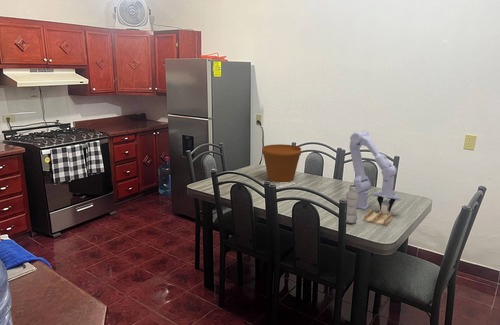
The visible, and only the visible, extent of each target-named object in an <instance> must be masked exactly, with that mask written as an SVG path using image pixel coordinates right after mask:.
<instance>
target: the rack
mask: <svg viewBox="0 0 500 325" xmlns="http://www.w3.org/2000/svg"><path fill="white" fill-rule="evenodd" d="M392 215H393V214H392V212H389V213H388V215H383V214H382V211H381V210H379V212H378V213H377V212H374V209H373V208H371V209H369V211H368V212H366V214H364V218H363V219H362V221H363V222H365V223H369V224H370V223H371V224H374V225H379V226H383V227H387V226H388V225H389V224H390V222H391V221H392V219H393V216H392Z"/></svg>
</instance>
